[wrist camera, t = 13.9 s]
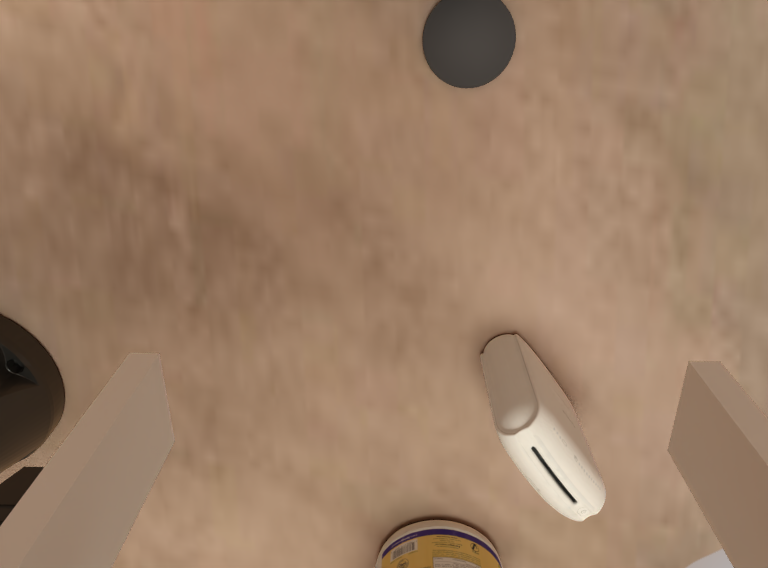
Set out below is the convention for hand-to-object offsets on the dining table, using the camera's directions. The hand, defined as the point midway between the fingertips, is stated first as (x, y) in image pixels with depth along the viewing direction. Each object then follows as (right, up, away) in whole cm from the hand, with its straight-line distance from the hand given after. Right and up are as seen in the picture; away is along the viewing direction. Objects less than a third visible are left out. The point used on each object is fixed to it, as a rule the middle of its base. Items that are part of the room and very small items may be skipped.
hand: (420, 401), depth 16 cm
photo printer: (+11, -5, +37) cm, 39 cm away
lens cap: (+5, +19, +26) cm, 33 cm away
